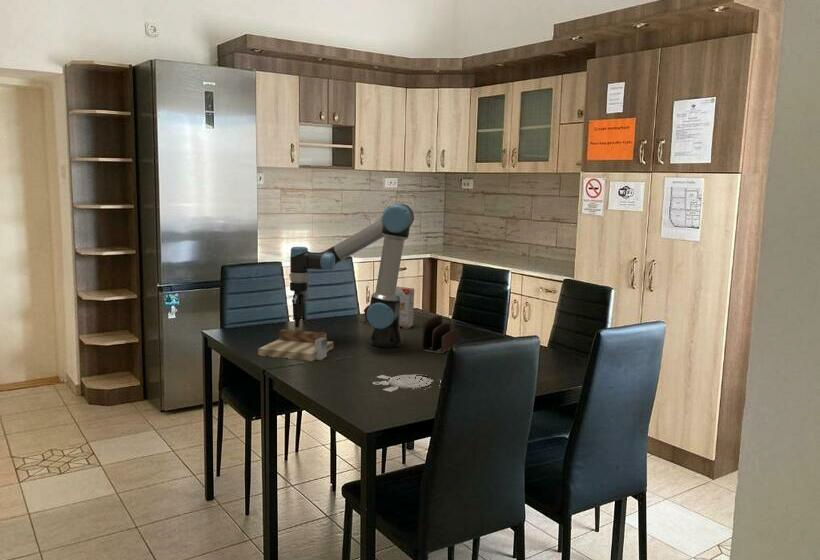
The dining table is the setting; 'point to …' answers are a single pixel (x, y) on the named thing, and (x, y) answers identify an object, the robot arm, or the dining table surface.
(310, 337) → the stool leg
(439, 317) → the letter holder
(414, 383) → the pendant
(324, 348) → the stop post
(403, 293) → the cracker box
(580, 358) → the dining table surface
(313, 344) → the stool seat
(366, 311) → the muffin
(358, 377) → the dining table surface
